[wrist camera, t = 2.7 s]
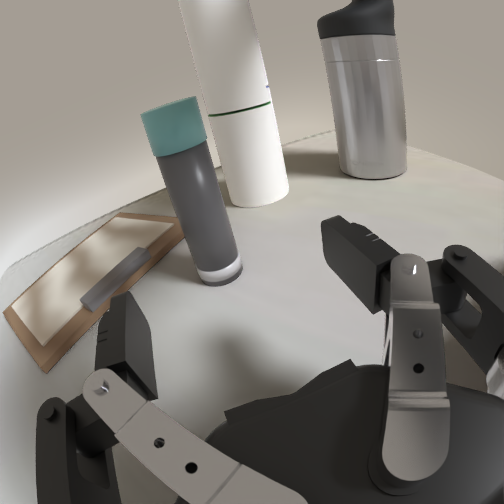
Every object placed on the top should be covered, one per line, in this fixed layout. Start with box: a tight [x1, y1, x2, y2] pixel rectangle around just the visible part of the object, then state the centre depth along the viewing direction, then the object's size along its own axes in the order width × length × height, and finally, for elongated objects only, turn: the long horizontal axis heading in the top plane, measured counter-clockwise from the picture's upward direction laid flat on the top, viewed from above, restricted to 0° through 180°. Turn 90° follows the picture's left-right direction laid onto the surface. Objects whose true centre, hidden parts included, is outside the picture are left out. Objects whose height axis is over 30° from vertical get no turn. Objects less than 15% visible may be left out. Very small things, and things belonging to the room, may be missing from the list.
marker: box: [141, 96, 243, 286], centre depth 22 cm, size 4×4×14 cm
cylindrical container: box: [178, 0, 289, 208], centre depth 30 cm, size 7×7×25 cm
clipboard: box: [3, 212, 185, 374], centre depth 30 cm, size 22×15×2 cm
